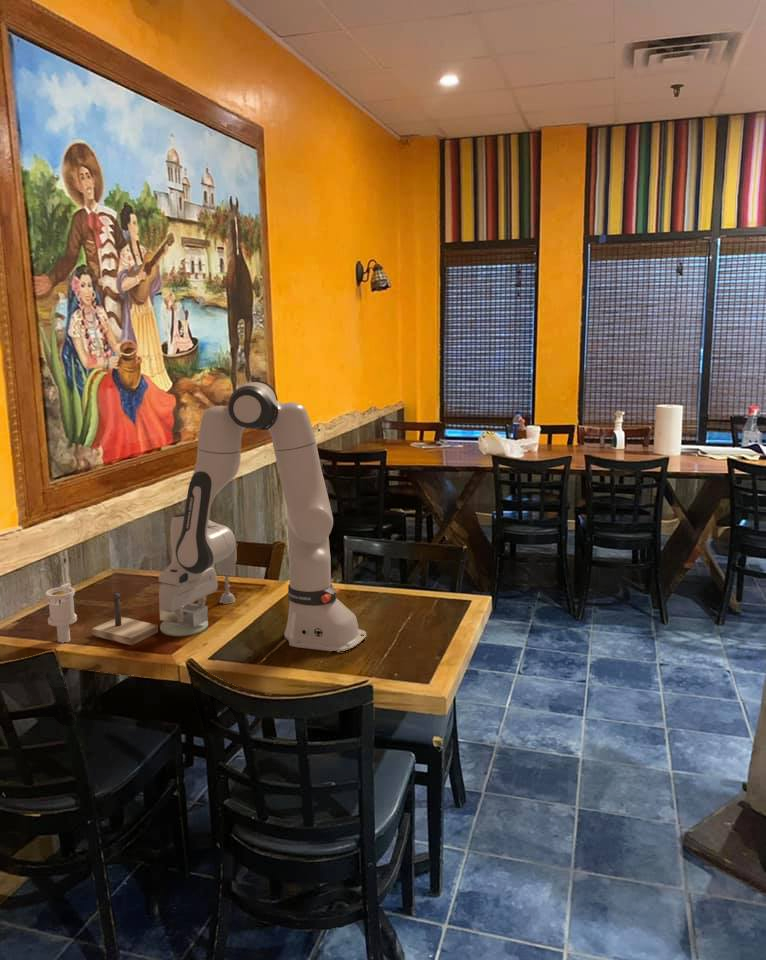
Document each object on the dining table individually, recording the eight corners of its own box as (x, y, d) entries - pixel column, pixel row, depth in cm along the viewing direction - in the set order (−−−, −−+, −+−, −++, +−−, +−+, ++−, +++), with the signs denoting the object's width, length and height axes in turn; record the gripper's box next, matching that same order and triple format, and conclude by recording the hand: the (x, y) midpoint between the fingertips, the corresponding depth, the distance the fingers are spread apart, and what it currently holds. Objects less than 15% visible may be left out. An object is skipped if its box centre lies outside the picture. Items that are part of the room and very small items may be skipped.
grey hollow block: (208, 619, 212) (207, 606, 211) (193, 627, 206) (193, 613, 206) (174, 612, 217) (174, 599, 216) (160, 619, 212) (159, 606, 211)
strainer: (84, 637, 205) (80, 584, 202) (66, 647, 198) (62, 592, 195) (62, 634, 207) (57, 581, 204) (43, 644, 200) (39, 590, 197)
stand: (158, 631, 209) (156, 593, 206) (131, 645, 200) (128, 604, 198) (120, 622, 215) (117, 585, 212) (92, 635, 206) (89, 596, 204)
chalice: (242, 597, 235) (240, 542, 232) (236, 605, 229) (234, 548, 225) (219, 596, 236) (217, 541, 232) (212, 604, 229) (210, 547, 226)
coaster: (217, 623, 215) (217, 620, 215) (186, 639, 204) (186, 636, 203) (181, 615, 221) (181, 612, 220) (149, 630, 209) (149, 628, 209)
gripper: (204, 557, 218) (206, 602, 221) (153, 577, 200) (156, 627, 203) (222, 560, 215) (223, 606, 218) (172, 581, 197) (174, 631, 200)
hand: (191, 616), depth 210 cm, fingers open, 6 cm apart
